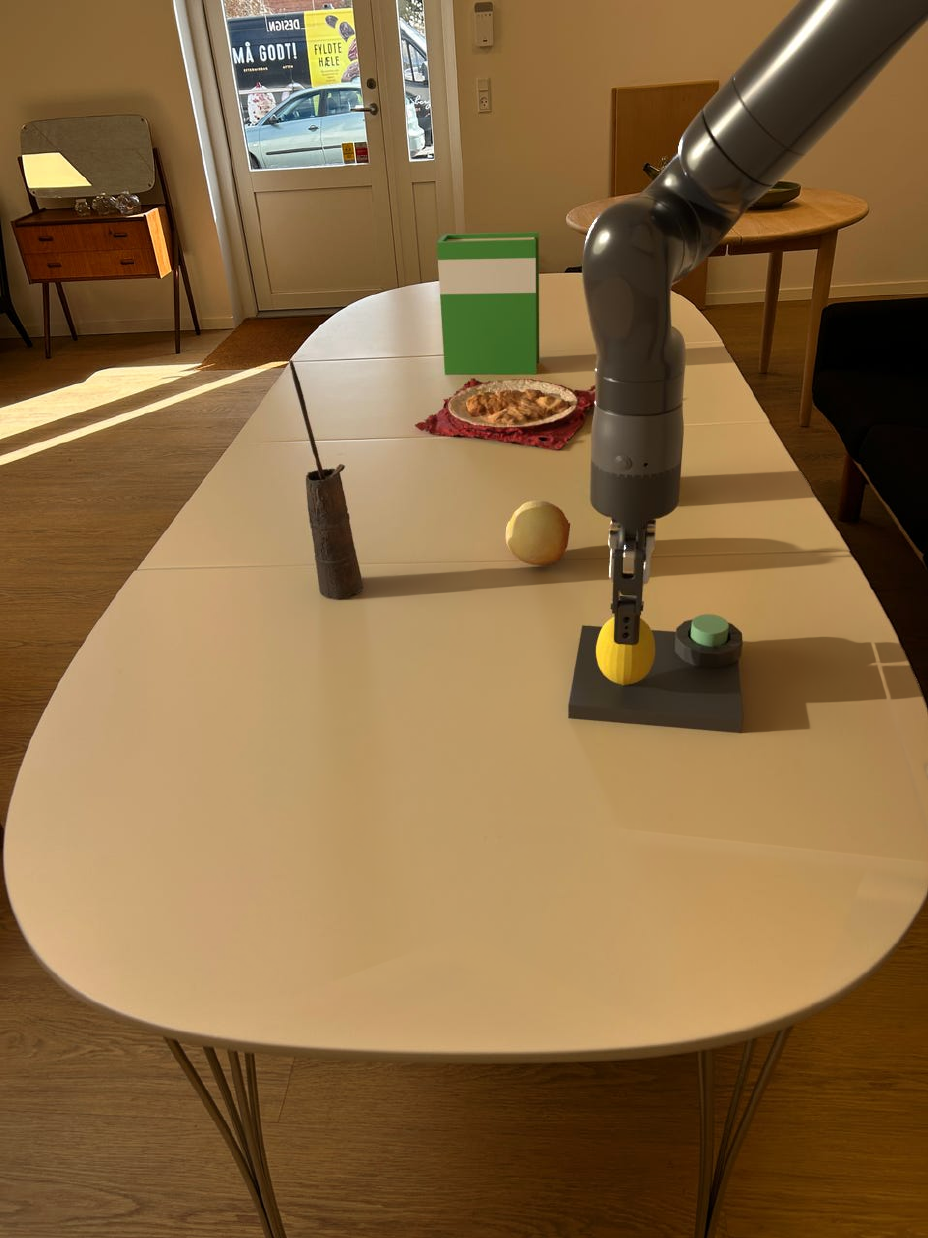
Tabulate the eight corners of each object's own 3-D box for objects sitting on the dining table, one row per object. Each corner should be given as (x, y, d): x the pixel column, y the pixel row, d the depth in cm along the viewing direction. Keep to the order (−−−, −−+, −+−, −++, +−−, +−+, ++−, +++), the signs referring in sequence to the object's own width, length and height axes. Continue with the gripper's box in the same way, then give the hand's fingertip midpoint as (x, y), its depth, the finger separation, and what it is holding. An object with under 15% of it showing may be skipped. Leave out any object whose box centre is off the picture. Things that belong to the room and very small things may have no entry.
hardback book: (539, 361, 183) (538, 231, 170) (536, 374, 177) (535, 240, 164) (450, 362, 186) (443, 234, 173) (444, 374, 180) (436, 242, 167)
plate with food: (472, 388, 173) (471, 369, 171) (606, 398, 162) (606, 379, 161) (413, 435, 155) (410, 415, 153) (558, 450, 145) (558, 429, 143)
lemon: (628, 709, 87) (632, 638, 83) (583, 684, 91) (584, 615, 87) (664, 683, 90) (670, 614, 86) (619, 661, 94) (623, 593, 90)
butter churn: (372, 559, 118) (346, 337, 103) (396, 594, 111) (372, 359, 96) (301, 576, 115) (264, 350, 100) (321, 612, 108) (284, 374, 93)
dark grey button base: (737, 647, 98) (741, 619, 96) (743, 734, 86) (748, 704, 84) (582, 636, 101) (582, 609, 99) (568, 718, 89) (568, 689, 87)
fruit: (523, 542, 120) (522, 485, 116) (581, 557, 116) (582, 498, 112) (492, 568, 115) (490, 509, 110) (552, 584, 111) (552, 524, 106)
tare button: (726, 629, 95) (728, 615, 94) (727, 649, 92) (729, 634, 91) (690, 627, 96) (691, 612, 95) (690, 646, 93) (691, 632, 92)
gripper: (681, 490, 71) (668, 664, 80) (682, 423, 83) (671, 581, 92) (583, 487, 73) (580, 658, 81) (597, 421, 85) (594, 577, 93)
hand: (628, 617), depth 87 cm, fingers open, 8 cm apart
